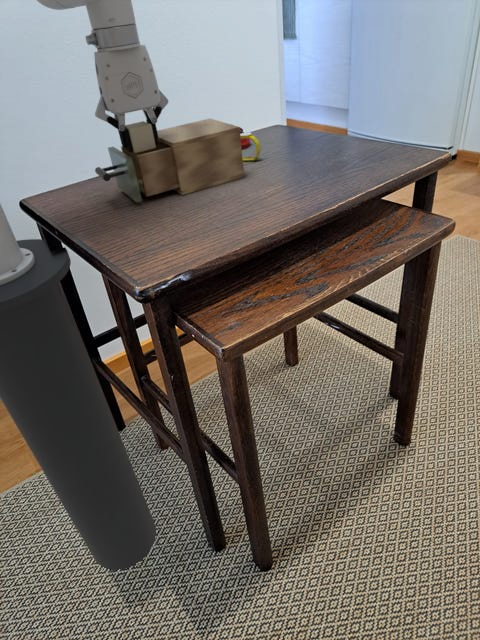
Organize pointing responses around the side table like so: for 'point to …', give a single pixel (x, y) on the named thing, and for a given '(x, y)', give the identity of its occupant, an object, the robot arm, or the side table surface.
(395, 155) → the side table surface
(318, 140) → the side table surface
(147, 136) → the block
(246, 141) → the tracker holder
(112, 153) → the drawer
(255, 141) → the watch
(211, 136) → the cabinet
